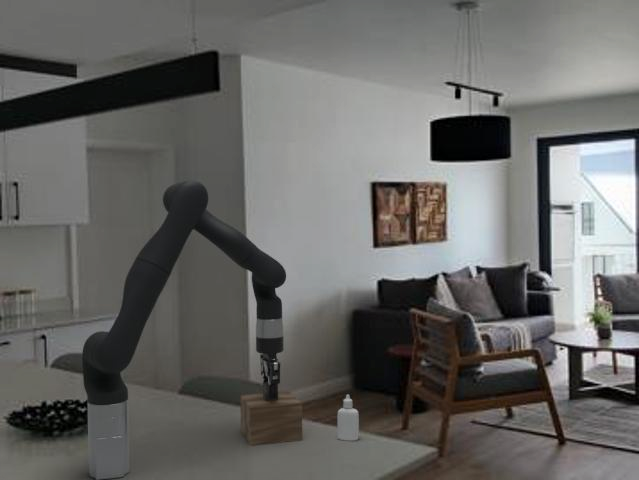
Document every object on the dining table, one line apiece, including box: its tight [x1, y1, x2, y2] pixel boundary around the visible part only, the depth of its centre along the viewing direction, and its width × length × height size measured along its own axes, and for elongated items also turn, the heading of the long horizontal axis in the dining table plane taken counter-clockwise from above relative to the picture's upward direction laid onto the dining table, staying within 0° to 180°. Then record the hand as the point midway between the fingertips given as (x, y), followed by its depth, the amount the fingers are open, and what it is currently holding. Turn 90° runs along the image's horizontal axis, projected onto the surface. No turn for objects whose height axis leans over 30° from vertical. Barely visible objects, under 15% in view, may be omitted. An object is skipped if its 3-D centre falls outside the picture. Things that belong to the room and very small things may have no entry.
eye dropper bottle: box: [336, 394, 360, 442], centre depth 197 cm, size 4×6×12 cm
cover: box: [239, 381, 303, 446], centre depth 201 cm, size 14×14×14 cm
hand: (270, 395), depth 200 cm, fingers open, 6 cm apart
